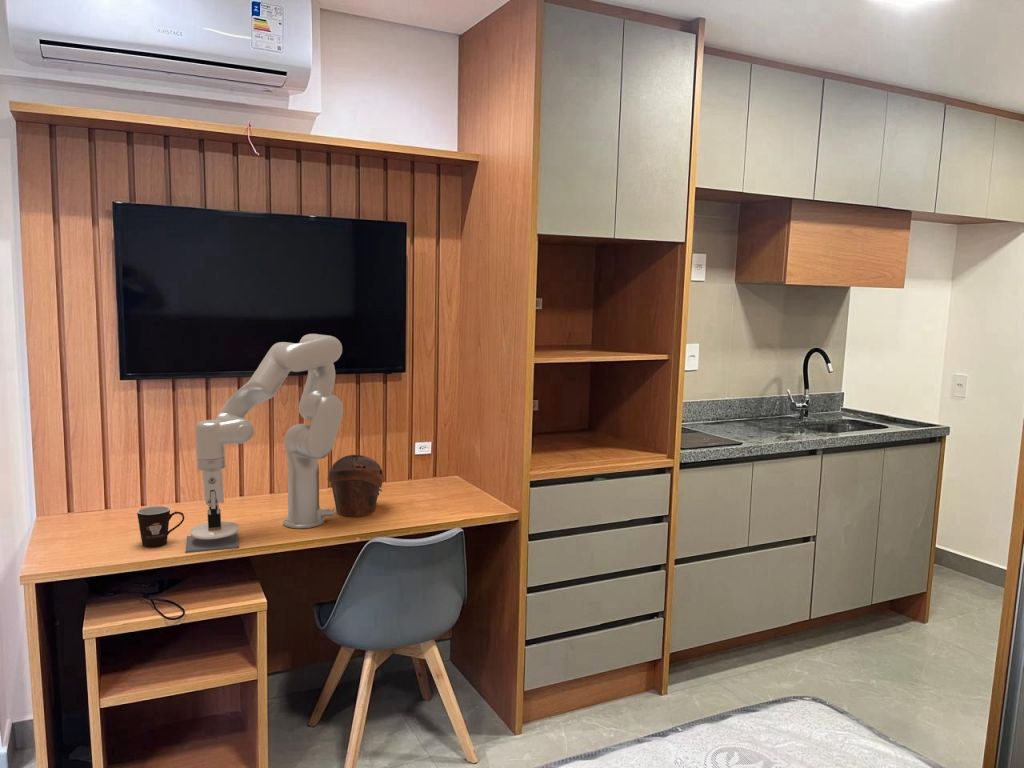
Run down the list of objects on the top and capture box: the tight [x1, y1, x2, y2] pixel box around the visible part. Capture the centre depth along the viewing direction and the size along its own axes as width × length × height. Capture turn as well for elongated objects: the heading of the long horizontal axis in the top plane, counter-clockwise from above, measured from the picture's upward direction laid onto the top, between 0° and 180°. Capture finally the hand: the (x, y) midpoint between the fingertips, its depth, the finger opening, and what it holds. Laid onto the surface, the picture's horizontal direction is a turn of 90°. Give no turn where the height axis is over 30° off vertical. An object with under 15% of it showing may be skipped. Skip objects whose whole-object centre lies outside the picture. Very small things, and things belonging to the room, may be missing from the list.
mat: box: [185, 532, 240, 554], centre depth 224 cm, size 14×14×1 cm
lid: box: [190, 509, 240, 539], centre depth 224 cm, size 13×13×6 cm
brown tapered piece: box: [327, 454, 384, 518], centre depth 257 cm, size 18×20×18 cm
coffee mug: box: [136, 505, 185, 549], centre depth 221 cm, size 12×9×10 cm
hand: (214, 524), depth 224 cm, fingers closed on lid, 3 cm apart
